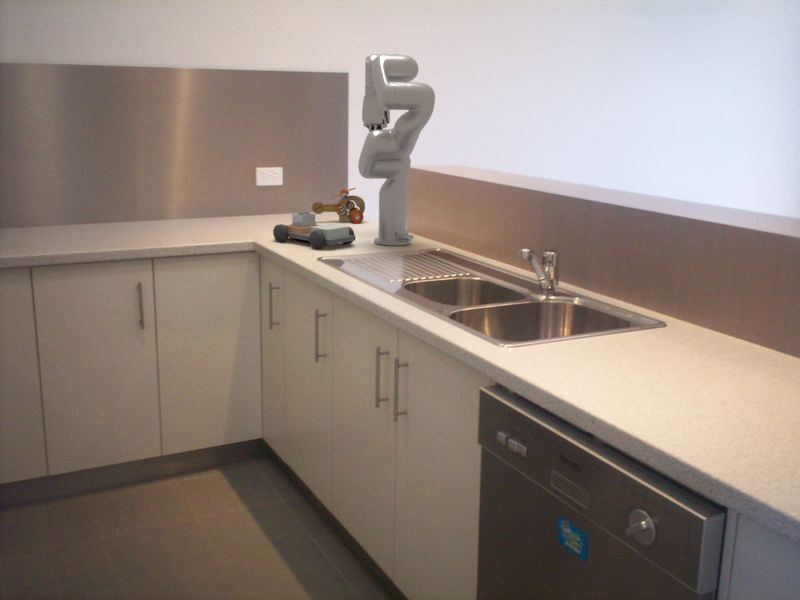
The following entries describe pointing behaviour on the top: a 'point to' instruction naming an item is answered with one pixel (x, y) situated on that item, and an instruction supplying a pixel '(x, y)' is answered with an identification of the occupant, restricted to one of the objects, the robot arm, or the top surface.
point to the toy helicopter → (343, 207)
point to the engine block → (303, 219)
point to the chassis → (316, 234)
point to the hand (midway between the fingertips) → (375, 143)
